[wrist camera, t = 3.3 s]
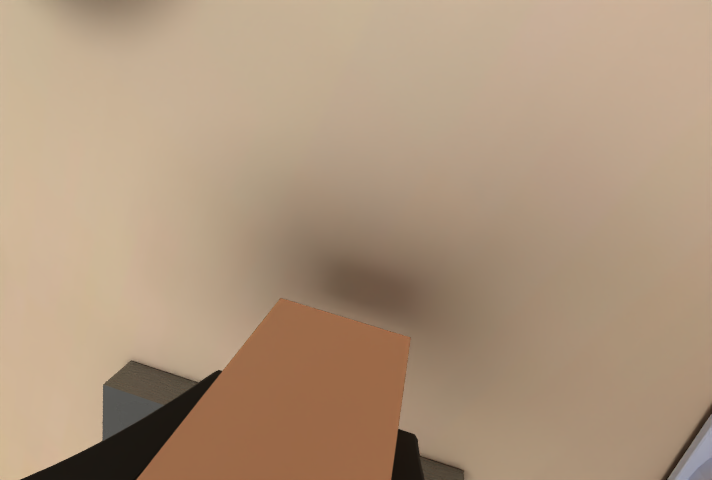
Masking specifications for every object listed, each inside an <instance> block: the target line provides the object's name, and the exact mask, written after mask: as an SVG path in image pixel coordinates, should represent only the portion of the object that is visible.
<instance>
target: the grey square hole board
mask: <svg viewBox="0 0 712 480" xmlns="http://www.w3.org/2000/svg"><path fill="white" fill-rule="evenodd" d="M196 384H197V383H196V382H193V381H190V380H187V379H184V378H181V377H178V376H175V375H172V374H169V373H166V372H163V371H160V370H157V369H154V368H151V367H148V366H145V365H142V364H139V363H136V362H133V361H130V362H129V363H128V364H127V365H125V366H124V367H123V368H122V369H121V370H120V371H118V372H117V373H116V374H115V375H114V376H113V377H111V378H110V379H109V380H108V381H107V382H106V383H105V384H103V441H104V440H105V439H107V438H109V437H111V436H113V435H114V434H116V433H118V432H120V431H121V430H123V429H125V428H127V427H129V426H130V425H132V424H134V423H136V422H137V421H139V420H141V419H142V418H144V417H146V416H147V415H149V414H151V413H152V412H154V411H155V410H157V409H159V408H160V407H162V406H164V405H165V404H167V403H168V402H170V401H172V400H173V399H175V398H176V397H178V396H179V395H181V394H182V393H184V392H185V391H187V390H188V389H190V388H191V387H193V386H194V385H196ZM420 459H421V465H422V470H423V474H424V479H425V480H464V472H463V471H462V470H459V469H456V468H453V467H450V466H447V465H444V464H441V463H438V462H435V461H432V460H429V459H426V458H423V457H420Z"/></svg>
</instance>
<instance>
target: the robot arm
mask: <svg viewBox="0 0 712 480" xmlns="http://www.w3.org/2000/svg"><path fill="white" fill-rule="evenodd" d="M221 373H222V371H220V370H218V371H216V372H214V373H212V374H211V375H209V376H208V377H206V378H205V379H203V380H202V381H200V382H199V383H197V384H196V385H194V386H193V387H191V388H190V389H188V390H187V391H185V392H184V393H182V394H181V395H179V396H178V397H176V398H175V399H173V400H172V401H170V402H168V403H167V404H165V405H164V406H162V407H160V408H159V409H157V410H155V411H154V412H152V413H151V414H149V415H147V416H146V417H144V418H142V419H141V420H139V421H137V422H136V423H134V424H132V425H130V426H129V427H127V428H125V429H123V430H121V431H120V432H118V433H116V434H114V435H113V436H111V437H109V438H107V439H105V440H104V441H102V442H100V443H98V444H96V445H94V446H92V447H90V448H88V449H86V450H84V451H82V452H80V453H78V454H76V455H74V456H72V457H70V458H68V459H66V460H64V461H61V462H59V463H57V464H55V465H53V466H51V467H48V468H46V469H44V470H42V471H39V472H37V473H35V474H32V475H30V476H28V477H25V478H23V479H21V480H137V478H138V477H139V476H140V475H141V473H142V472H143V471H144V470H145V468H146V467H147V466H148V465H149V463H150V462H151V461H152V459H153V458H154V457H155V456H156V454H157V453H158V452H159V451H160V449H161V448H162V447H163V446H164V444H165V443H166V442H167V441H168V439H169V438H170V437H171V436H172V434H173V433H174V432H175V430H176V429H177V428H178V427H179V425H180V424H181V423H182V422H183V420H184V419H185V418H186V417H187V415H188V414H189V413H190V412H191V410H192V409H193V408H194V407H195V405H196V404H197V403H198V402H199V400H200V399H201V398H202V396H203V395H204V394H205V393H206V391H207V390H208V389H209V388H210V386H211V385H212V384H213V383H214V381H215V380H216V379H217V378H218V376H219V375H220V374H221ZM391 480H425V479H424V474H423V470H422V465H421V459H420V454H419V447H418V439H417V438H416V436H415V434H412V433H409V432H406V431H403V430H400V429H398V433H397V441H396V448H395V455H394V462H393V470H392V477H391ZM667 480H712V414H711V415H710V417H709V418H708V420H707V421H706V423H705V424H704V426H703V427H702V429H701V430H700V432H699V433H698V435H697V436H696V438H695V439H694V441H693V442H692V443H691V445H690V446H689V448H688V449H687V451H686V452H685V454H684V455H683V457H682V458H681V460H680V461H679V463H678V464H677V466H676V467H675V469H674V470H673V472H672V473H671V475H670V476H669V478H668V479H667Z"/></svg>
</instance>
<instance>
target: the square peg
mask: <svg viewBox="0 0 712 480" xmlns="http://www.w3.org/2000/svg"><path fill="white" fill-rule="evenodd" d="M410 339H411V338H410V337H407V336H404V335H400V334H397V333H394V332H391V331H387V330H384V329H381V328H377V327H374V326H371V325H368V324H364V323H361V322H358V321H354V320H351V319H348V318H345V317H341V316H338V315H335V314H331V313H328V312H325V311H322V310H318V309H315V308H312V307H308V306H305V305H302V304H299V303H295V302H292V301H289V300H285V299H282V298H280V299H279V301H278V302H277V303H276V304H275V306H274V307H273V308H272V309H271V311H270V312H269V313H268V315H267V316H266V317H265V318H264V320H263V321H262V322H261V323H260V325H259V326H258V327H257V328H256V330H255V331H254V332H253V333H252V335H251V336H250V337H249V338H248V340H247V341H246V342H245V344H244V345H243V346H242V347H241V349H240V350H239V351H238V352H237V354H236V355H235V356H234V357H233V359H232V360H231V361H230V362H229V364H228V365H227V366H226V367H225V369H224V370H223V371H222V373H221V374H220V375H219V376H218V378H217V379H216V380H215V381H214V383H213V384H212V385H211V386H210V388H209V389H208V390H207V391H206V393H205V394H204V395H203V396H202V398H201V399H200V400H199V402H198V403H197V404H196V405H195V407H194V408H193V409H192V410H191V412H190V413H189V414H188V415H187V417H186V418H185V419H184V420H183V422H182V423H181V424H180V425H179V427H178V428H177V429H176V430H175V432H174V433H173V434H172V436H171V437H170V438H169V439H168V441H167V442H166V443H165V444H164V446H163V447H162V448H161V449H160V451H159V452H158V453H157V454H156V456H155V457H154V458H153V459H152V461H151V462H150V463H149V465H148V466H147V467H146V468H145V470H144V471H143V472H142V473H141V475H140V476H139V477H138V478H137V480H391V477H392V470H393V462H394V455H395V448H396V441H397V433H398V426H399V419H400V412H401V404H402V397H403V390H404V383H405V375H406V368H407V361H408V354H409V346H410Z"/></svg>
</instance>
